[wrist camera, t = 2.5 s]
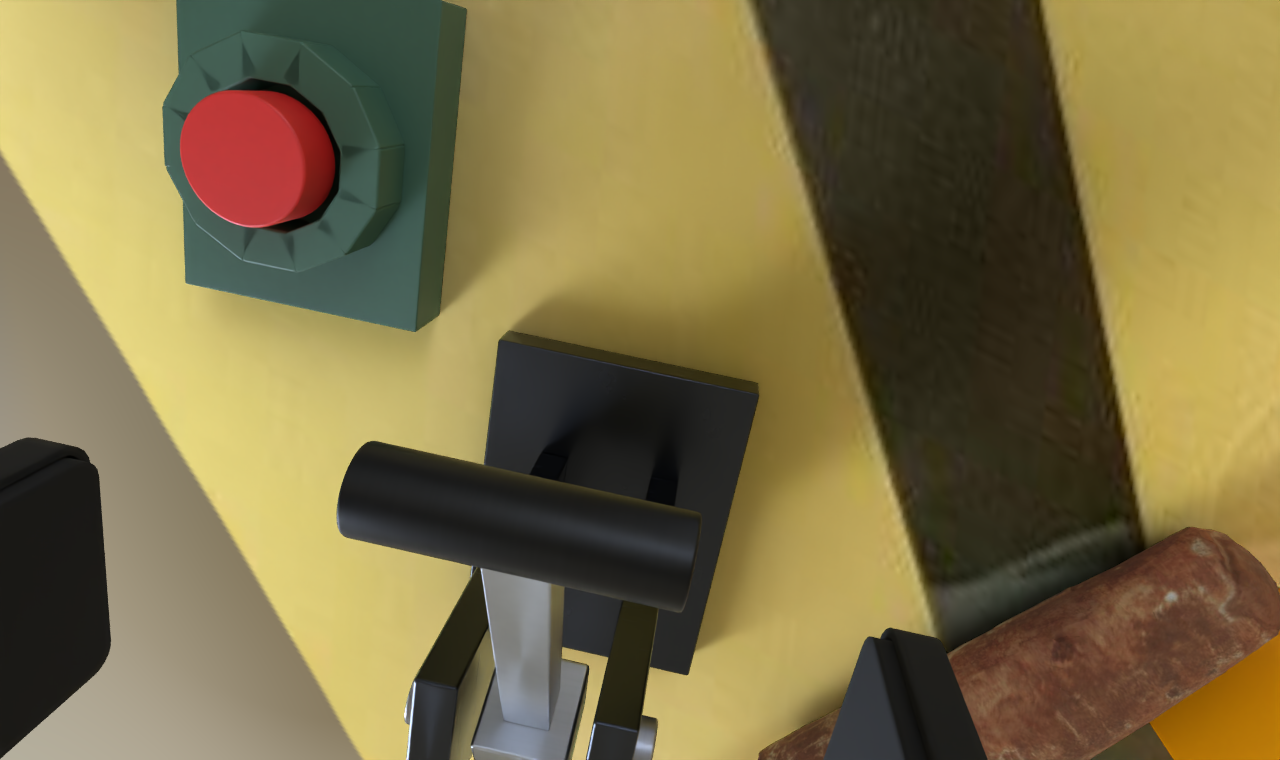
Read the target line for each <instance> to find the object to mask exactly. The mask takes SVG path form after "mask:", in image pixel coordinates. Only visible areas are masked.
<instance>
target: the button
mask: <svg viewBox="0 0 1280 760" xmlns="http://www.w3.org/2000/svg"><path fill="white" fill-rule="evenodd" d="M180 155H181V161H182V166H183V169H184V172H185V175H186V177H187V179H188V182H189V184H190V185H191V187H192V189H193V191H194V192H195V193H196V195H197V196H198V197H199V199H200V200H201V201H202V202H203V203H204V204H205V205H206V206H207V207H208V208H209V209H210V210H211V211H212V212H214V213H215V214H217V215H218V216H219V217H221V218H223V219H225V220H227V221H229V222H231V223H234V224H236V225H240V226H244V227H250V228H261V227H268V226H271V225H275V224H279V223H283V222H286V221H290V220H294V219H297V218H301V217H304V216H306V215H308V214H310V213H312V212H313V211H315V210H316V209H317V208H318V207H319V206H320V205H322V203H323V202H324V201H325V199H326V198H327V196H328V194H329V193H330V190H331V188H332V185H333V181H334V177H335V156H334V150H333V147H332V143H331V141H330V138H329V135H328V134H327V132H326V130H325V128H324V126H323V125H322V123H321V122H320V120H319V119H318V118H317V117H316V116H315V114H314V113H313V112H312V111H311V110H310V109H308V108H307V107H306V106H305V105H304V104H302V103H301V102H300V101H298V100H296V99H294V98H293V97H290V96H288V95H286V94H283V93H279V92H274V91H251V90H226V91H220V92H216V93H213V94H211V95H209V96H207V97H205V98H204V99H202V100H201V101H200V102H198V103H197V104H196V105H195V107H194V108H193V109H192V110H191V111H190V113H189V114H188V116H187V118H186V120H185V122H184V125H183V128H182V131H181V138H180Z"/></svg>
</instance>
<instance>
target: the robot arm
mask: <svg viewBox="0 0 1280 760" xmlns="http://www.w3.org/2000/svg"><path fill="white" fill-rule="evenodd" d="M101 512H102V511H101V497H100V483H99V474H98V470H97V468H96V467H95V466H94V465H93V464H91V463H90V460H89V457H88V455H87V454H86V453H85V451H84V450H82V449H80V448H78V447H74V446H69V445H65V444H61V443H56V442H52V441H47V440H43V439H38V438H24V439H21V440H17V441H15V442H13V443H11V444H9V445H7V446H5V447H2V448H0V759H1V758H2V757H3V756H4V755H5V754H6V753H7V752H8V751H10V750H11V749H12V748H13V747H14V746H15V745H16V744H17V743H19V741H21V740H22V739H23V738H24V737H25V736H26V735H27V734H29V733H30V732H31V731H32V730H33V729H34V728H35V727H37V726H38V725H39V724H40V723H41V722H42V721H43V720H44V719H46V718H47V717H48V716H49V715H50V714H51V713H52V712H53V711H55V710H56V709H57V708H58V707H59V706H60V705H61V704H62V703H64V702H65V701H66V700H67V699H68V698H69V697H70V696H71V695H72V694H74V693H75V692H76V691H77V690H78V689H79V688H81V687H82V686H83V685H84V684H85V683H86V682H87V681H88V680H90V679H91V678H92V677H93V676H94V675H95V674H96V673H97V672H98V671H99V670H100V668H101V667H102V665H103V664H104V662H105V660H106V658H107V656H108V654H109V650H110V646H111V636H110V622H109V608H108V594H107V580H106V566H105V553H104V539H103V526H102V513H101ZM823 760H988V759H987V756H986V754H985V751H984V748H983V746H982V743H981V741H980V738H979V736H978V733H977V730H976V728H975V725H974V723H973V720H972V718H971V715H970V712H969V710H968V707H967V705H966V702H965V700H964V697H963V695H962V692H961V689H960V687H959V684H958V682H957V679H956V677H955V674H954V671H953V669H952V666H951V664H950V661H949V659H948V656H947V654H946V651H945V648H944V646H943V644H942V643H941V641H940V640H939V639H937V638H934V637H929V636H925V635H920V634H916V633H911V632H907V631H902V630H898V629H893V628H888V629H886V630H885V631H884V633H883V634H882V636H881V638H880V639H879V638H875V637H867V639H866V640H865V642H864V644H863V646H862V649H861V652H860V655H859V658H858V660H857V663H856V666H855V669H854V672H853V675H852V678H851V681H850V684H849V687H848V689H847V692H846V695H845V698H844V701H843V704H842V707H841V710H840V713H839V716H838V718H837V721H836V724H835V727H834V730H833V733H832V736H831V739H830V742H829V744H828V747H827V750H826V753H825V756H824V759H823Z"/></svg>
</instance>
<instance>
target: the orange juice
mask: <svg viewBox="0 0 1280 760" xmlns="http://www.w3.org/2000/svg"><path fill="white" fill-rule="evenodd" d="M1278 590H1279V593H1280V589H1278ZM1149 723H1150V725H1151V726H1152V728H1153V729H1154V731H1155V732H1156V734H1157V735H1158V737H1159V738H1160V740H1161V741H1162V743H1163V744H1164V746H1165V747H1166V749H1167V750H1168V752H1169V753H1170V755H1171V756H1172V758H1173V759H1174V760H1280V631H1279V634H1278V635H1277V636H1275V637H1274V638H1272V639H1271V640H1270V641H1268V642H1267V643H1265V644H1264V645H1263V646H1262V647H1260V648H1259V649H1258V650H1256V651H1254V652H1253V653H1251V654H1250V655H1249V656H1247V657H1246V658H1245V659H1243V660H1242V661H1240V662H1239V663H1237V664H1236V665H1234V666H1233V667H1231V668H1230V669H1228V670H1227V671H1226V672H1225V673H1224V674H1222V675H1220V676H1219V677H1217V678H1215V679H1214V680H1212V681H1211V682H1209V683H1208V684H1206V685H1205V686H1203V687H1202V688H1200V689H1199V690H1197V691H1196V692H1194V693H1193V694H1191V695H1189V696H1188V697H1186V698H1185V699H1183V700H1182V701H1180V702H1179V703H1177V704H1176V705H1174V706H1173V707H1171V708H1170V709H1168V710H1167V711H1165V712H1164V713H1162V714H1161V715H1160V716H1158V717H1157V718H1155V719H1154V720H1152V721H1151V722H1149Z"/></svg>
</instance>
